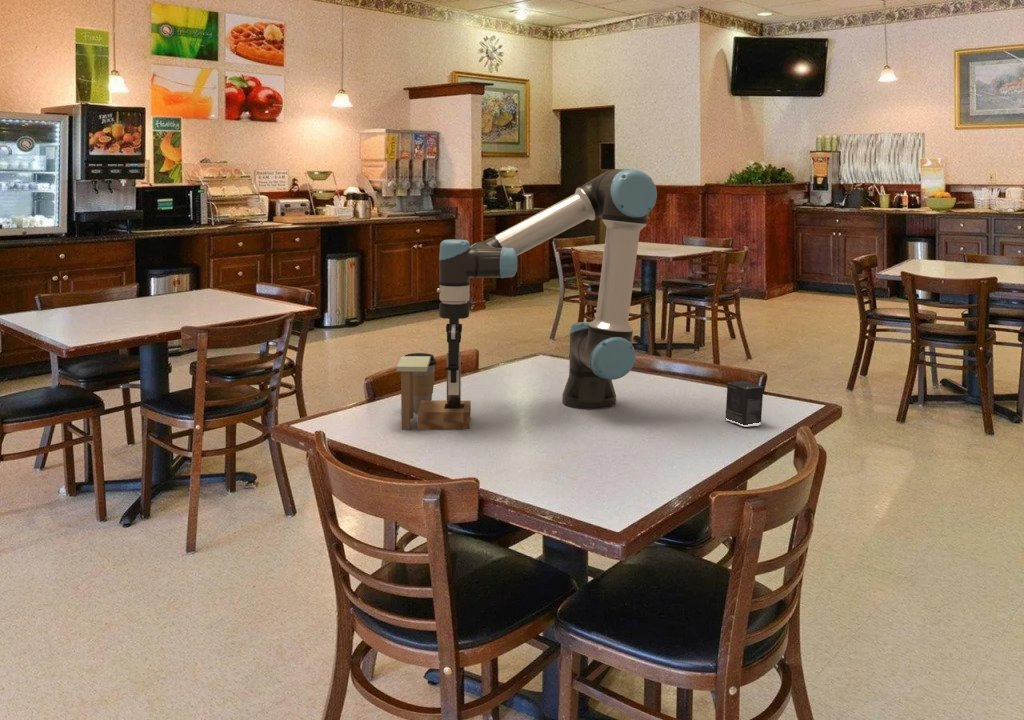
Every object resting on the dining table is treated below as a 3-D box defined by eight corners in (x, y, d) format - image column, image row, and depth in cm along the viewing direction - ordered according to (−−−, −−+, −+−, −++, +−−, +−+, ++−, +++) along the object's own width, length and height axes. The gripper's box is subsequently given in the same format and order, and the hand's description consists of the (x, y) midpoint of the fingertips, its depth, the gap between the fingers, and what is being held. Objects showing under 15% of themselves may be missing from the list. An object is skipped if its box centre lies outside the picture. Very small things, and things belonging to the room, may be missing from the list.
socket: (470, 417, 247) (470, 400, 246) (469, 429, 235) (469, 412, 234) (421, 416, 247) (421, 400, 246) (417, 429, 235) (417, 412, 234)
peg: (460, 405, 242) (461, 352, 239) (460, 408, 238) (460, 354, 236) (446, 405, 242) (447, 351, 239) (446, 408, 238) (446, 354, 236)
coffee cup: (431, 415, 248) (430, 360, 245) (397, 413, 250) (396, 358, 247) (440, 406, 257) (440, 353, 254) (408, 404, 259) (407, 351, 256)
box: (761, 426, 241) (764, 386, 239) (743, 428, 239) (746, 388, 237) (741, 418, 248) (744, 380, 246) (724, 421, 246) (726, 382, 244)
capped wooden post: (430, 416, 247) (430, 356, 244) (427, 429, 235) (426, 366, 231) (402, 416, 247) (401, 356, 244) (397, 429, 234) (396, 366, 231)
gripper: (441, 297, 243) (440, 385, 247) (437, 306, 226) (437, 400, 231) (470, 297, 243) (469, 385, 248) (468, 306, 227) (467, 400, 231)
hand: (453, 392), depth 239 cm, fingers closed on peg, 3 cm apart
